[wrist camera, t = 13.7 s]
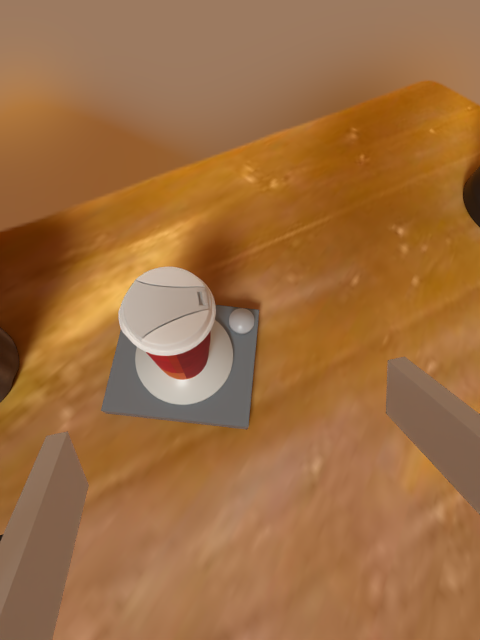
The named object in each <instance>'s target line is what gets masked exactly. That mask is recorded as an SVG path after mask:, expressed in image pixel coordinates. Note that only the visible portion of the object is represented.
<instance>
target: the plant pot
mask: <svg viewBox="0 0 480 640" xmlns="http://www.w3.org/2000/svg"><path fill="white" fill-rule="evenodd" d="M18 368H19V356H18V351H17V348H16V346H15V344H14V341H13V340H12V339H11V337H10V336H9V335H8V334H7V333H6V332H5V331H4V330H3V329H2V328H0V402H1V401H2V400H3V399H4V397H5V396H6V395H7V394H8V392H9V391H10V389H11V387H12V382H13V379H14V377H15V374H16V372H17V371H18Z"/></svg>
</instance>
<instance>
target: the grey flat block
mask: <svg viewBox="0 0 480 640" xmlns="http://www.w3.org/2000/svg"><path fill="white" fill-rule="evenodd" d="M215 306H216V315H215V320H214V324H213V326H212V328H211V337H210V346H209V355H208V360H207V363H206V366H205V367H204V369H203V370H202V371H201V372H200V373H199V374H198V375H196V376H195V377H193V378H190V379H185V380H179V379H175V378H172V377H170V376H168V375H167V374H166V373H165V372H164V371H162V370H161V368H160V367H159V366H158V365H157V364H156V363H155V362H154V361H153V360H152V359H151V357H150V356H149V355H148V354H147V353H146V352H145V351H143V350H141V349H140V348H138V347H137V346H135V345H134V344H133V343H132V342H131V341H130V340H129V338H128V337H127V336H126V335H125V334H124V333H123V332H122V330H121V332H120V336H119V340H118V344H117V348H116V352H115V356H114V360H113V364H112V368H111V372H110V376H109V380H108V384H107V388H106V393H105V397H104V401H103V405H102V409H101V411H103V412H105V413H108V414H117V415H126V416H135V417H143V418H152V419H161V420H170V421H178V422H187V423H196V424H205V425H213V426H222V427H231V428H240V429H248V425H249V415H250V404H251V393H252V382H253V371H254V361H255V350H256V339H257V328H258V318H259V310H256V309H247V308H238V307H230V306H221V305H215Z"/></svg>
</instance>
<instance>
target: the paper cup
mask: <svg viewBox="0 0 480 640" xmlns="http://www.w3.org/2000/svg"><path fill="white" fill-rule="evenodd" d="M215 315H216V306H215V300H214V297H213V295H212V292H211V290H210V289H209V288H208V286H207V285H206V284H205V283H204V282H203V281H202V280H201V279H200V278H198V277H197V276H195V275H194V274H193V273H191V272H189V271H187V270H184V269H181V268H176V267H160V268H156V269H153V270H150V271H148V272H146V273H144V274H142V275H141V276H139V277H138V278H137V279H136V280H135V281H134V283H133V284H132V285H131V287H130V289H129V290H128V292H127V293H126V295H125V297H124V299H123V301H122V304H121V307H120V310H119V323H120V327H121V330H122V332H123V333H124V334H125V335H126V336H127V337H128V338H129V340H130V341H131V342H132V343H133V344H134V345H135V346H137V347H138V348H140V349H141V350H143V351H145V352H146V353H147V354H148V355H149V356H150V357H151V359H152V360H153V361H154V362H155V363H156V364H157V365H158V366H159V367H160V368H161V370H162V371H164V372H165V373H166V374H167V375H168V376H170V377H172V378H175V379H179V380H185V379H190V378H193V377H195V376H196V375H198V374H199V373H200V372H201V371H202V370H203V369H204V367H205V366H206V363H207V360H208V355H209V346H210V337H211V328H212V326H213V324H214V320H215Z"/></svg>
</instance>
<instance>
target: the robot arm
mask: <svg viewBox="0 0 480 640" xmlns="http://www.w3.org/2000/svg"><path fill="white" fill-rule="evenodd" d="M464 202H465V205H466V208H467V210H468V212H469V214H470V215H471V217H472V218H473V220H474V221H475V222H476V223H477V224H478V225H479V226H480V167H478V168H477V170H476V171H475V172H474V173H473V174H472V176H471V177H470V178H469V179H468V181H467V182H466V184H465V187H464ZM386 414H387V415H388V416H389V417H390V418H391V419H392V420H393V421H394V422H395V423H396V425H397V426H398V427H399V428H400V429H401V430H402V431H403V432H404V433H405V434H406V435H407V436H408V438H409V439H410V440H411V441H412V442H413V443H414V444H415V445H416V446H417V447H418V448H419V449H420V451H421V452H422V453H423V454H424V455H425V456H426V457H427V458H428V459H429V460H430V461H431V462H432V464H433V465H434V466H435V467H436V468H437V469H438V470H439V471H440V472H441V473H442V474H443V475H444V477H445V478H446V479H447V480H448V481H449V482H450V483H451V484H452V485H453V486H454V487H455V488H456V490H457V491H458V492H459V493H460V494H461V495H462V496H463V497H464V498H465V499H466V500H467V501H468V503H469V504H470V505H471V506H472V507H473V508H474V509H475V510H476V511H477V512H478V513H479V514H480V414H479V413H477V412H476V411H475V410H473V409H472V408H471V407H469V406H468V405H467V404H466V403H464V402H463V401H462V400H460V399H459V398H458V397H456V396H455V395H454V394H453V393H451V392H450V391H449V390H447V389H446V388H445V387H443V386H442V385H441V384H439V383H438V382H437V381H436V380H434V379H433V378H432V377H430V376H429V375H428V374H426V373H425V372H424V371H423V370H421V369H420V368H419V367H417V366H416V365H415V364H413V363H412V362H411V361H409V360H408V359H407V358H406V357H401V358H396V359H392V360H388V370H387V398H386ZM88 486H89V485H88V482H87V480H86V477H85V474H84V472H83V469H82V467H81V464H80V462H79V459H78V457H77V454H76V452H75V449H74V447H73V444H72V441H71V439H70V436H69V434H68V431H67V432H63V433H58V434H54V435H49V436H46V438H45V441H44V443H43V445H42V447H41V450H40V452H39V454H38V457H37V459H36V461H35V463H34V466H33V468H32V470H31V473H30V475H29V477H28V479H27V482H26V484H25V486H24V489H23V491H22V493H21V495H20V498H19V500H18V502H17V505H16V507H15V509H14V511H13V514H12V516H11V518H10V521H9V523H8V525H7V527H6V530H5V532H4V534H3V535H0V640H52V638H53V634H54V630H55V626H56V621H57V617H58V613H59V609H60V604H61V600H62V596H63V592H64V587H65V583H66V579H67V575H68V570H69V566H70V562H71V558H72V553H73V549H74V545H75V541H76V536H77V532H78V528H79V524H80V519H81V515H82V511H83V507H84V502H85V498H86V494H87V490H88Z"/></svg>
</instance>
